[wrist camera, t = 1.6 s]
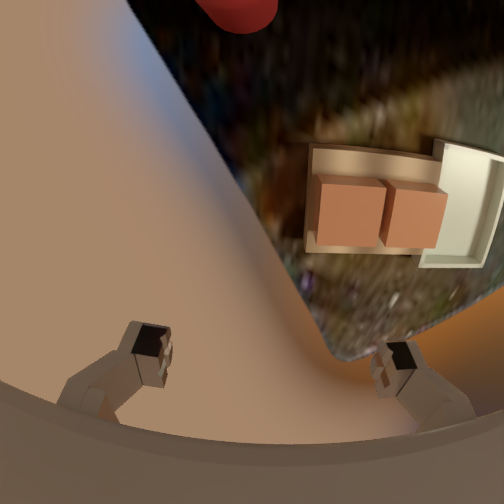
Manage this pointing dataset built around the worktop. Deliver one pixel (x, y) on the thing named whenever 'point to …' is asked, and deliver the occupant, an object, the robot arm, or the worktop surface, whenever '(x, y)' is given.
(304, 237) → the bench
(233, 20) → the beer can
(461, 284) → the worktop surface
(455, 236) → the tray
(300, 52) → the worktop surface
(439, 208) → the tile
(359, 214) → the tile
